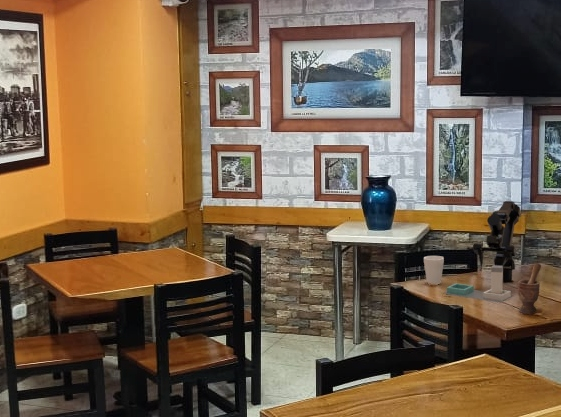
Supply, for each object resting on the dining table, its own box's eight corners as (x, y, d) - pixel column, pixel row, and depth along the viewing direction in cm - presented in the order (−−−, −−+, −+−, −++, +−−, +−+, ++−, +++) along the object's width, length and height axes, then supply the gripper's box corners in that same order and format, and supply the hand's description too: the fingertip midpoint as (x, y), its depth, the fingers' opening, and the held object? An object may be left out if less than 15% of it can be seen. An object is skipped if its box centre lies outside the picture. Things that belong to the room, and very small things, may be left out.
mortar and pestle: (521, 306, 348) (522, 261, 345) (542, 308, 344) (543, 262, 341) (515, 313, 338) (516, 266, 335) (536, 316, 334) (537, 268, 331)
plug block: (492, 295, 363) (492, 265, 361) (502, 296, 362) (502, 265, 359) (491, 298, 359) (491, 267, 357) (501, 299, 357) (501, 268, 355)
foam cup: (442, 281, 395) (442, 255, 393) (444, 286, 386) (444, 259, 384) (423, 281, 396) (423, 255, 394) (424, 286, 387) (424, 260, 385)
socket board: (442, 295, 370) (442, 288, 369) (457, 289, 380) (457, 282, 380) (500, 304, 352) (501, 297, 351) (514, 297, 363) (514, 290, 362)
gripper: (473, 226, 372) (467, 256, 365) (514, 228, 363) (509, 259, 357) (477, 238, 381) (472, 267, 374) (518, 240, 372) (513, 271, 365)
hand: (491, 266), depth 367 cm, fingers open, 9 cm apart
